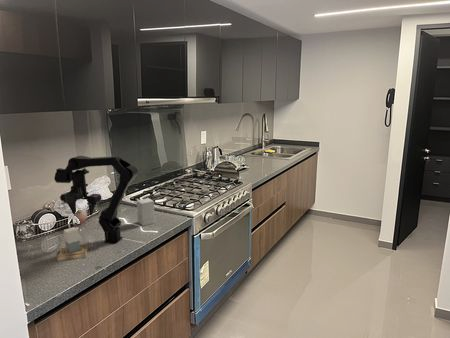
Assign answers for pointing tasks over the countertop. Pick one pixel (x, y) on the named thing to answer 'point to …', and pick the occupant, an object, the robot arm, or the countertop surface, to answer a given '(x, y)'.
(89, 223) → the countertop surface
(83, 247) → the wooden tray
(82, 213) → the decorative fruit
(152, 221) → the supplement box
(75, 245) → the plain gray box
